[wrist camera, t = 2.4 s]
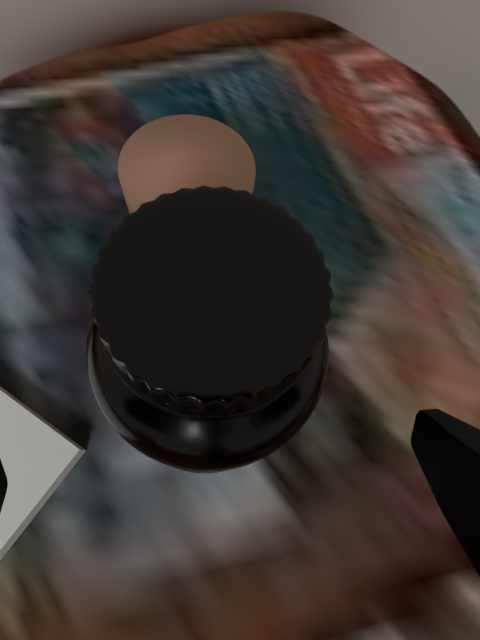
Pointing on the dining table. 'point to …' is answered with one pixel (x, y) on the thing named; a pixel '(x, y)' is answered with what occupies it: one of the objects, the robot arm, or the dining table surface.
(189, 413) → the supplement bottle
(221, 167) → the tan rounded piece
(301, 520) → the dining table surface
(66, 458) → the pad
